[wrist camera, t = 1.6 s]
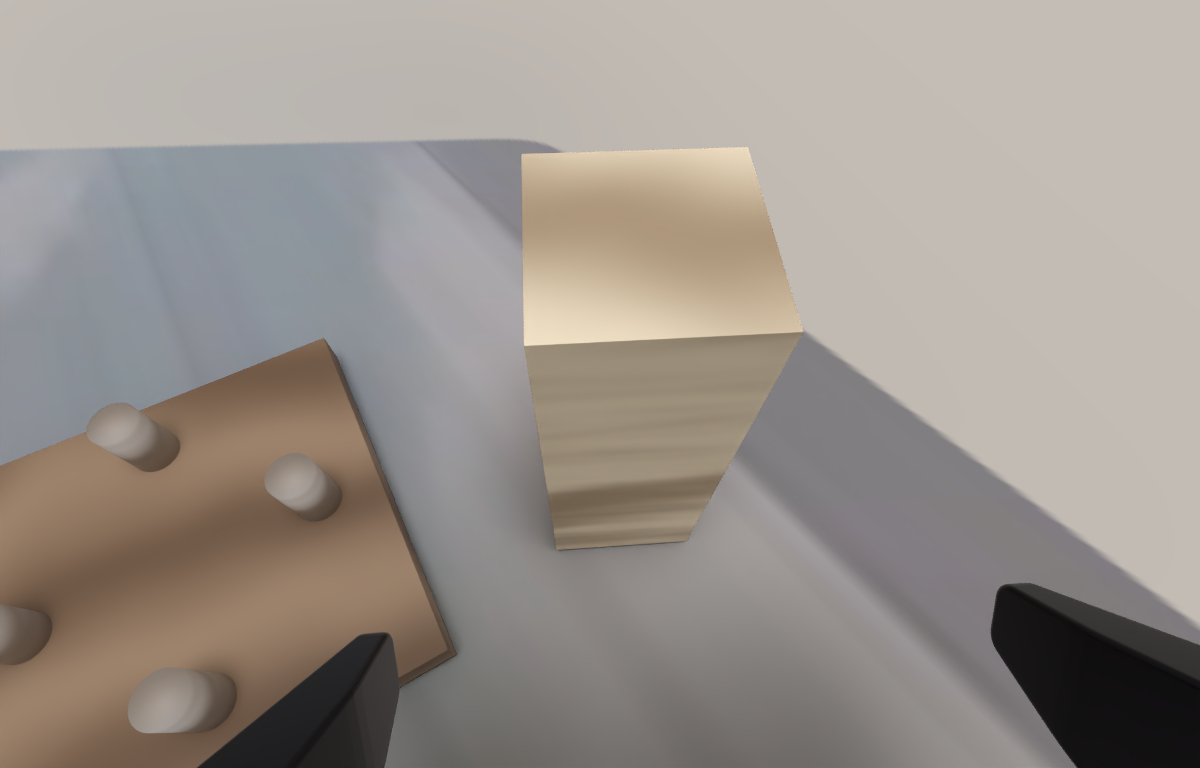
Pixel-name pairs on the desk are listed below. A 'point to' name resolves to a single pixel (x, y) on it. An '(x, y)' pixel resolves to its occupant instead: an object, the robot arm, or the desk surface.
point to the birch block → (647, 332)
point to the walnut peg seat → (197, 568)
